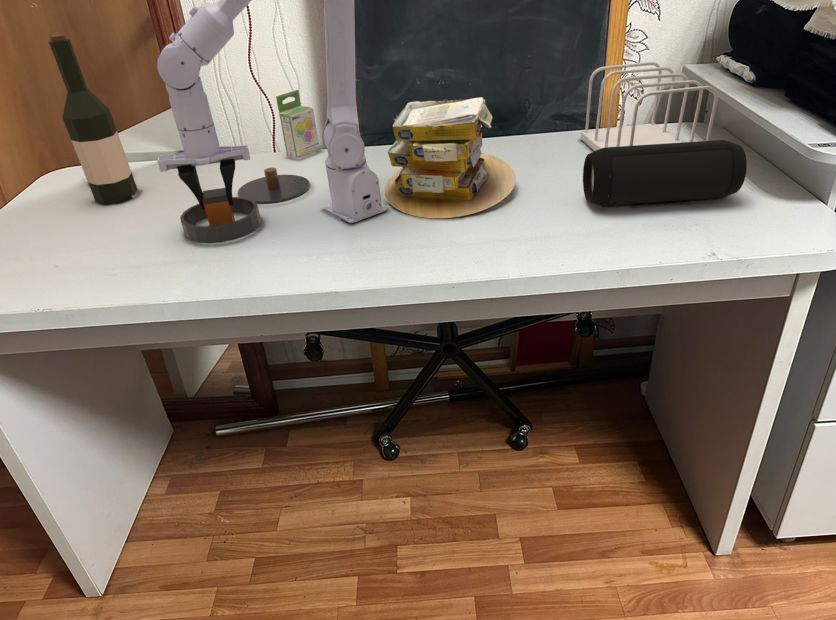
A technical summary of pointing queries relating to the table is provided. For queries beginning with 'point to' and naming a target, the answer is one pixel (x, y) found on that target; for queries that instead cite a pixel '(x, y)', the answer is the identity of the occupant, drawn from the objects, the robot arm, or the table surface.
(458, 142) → the stacked yellow boxes
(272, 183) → the lid
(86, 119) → the wine bottle
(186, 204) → the table surface
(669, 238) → the table surface
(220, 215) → the spice jar
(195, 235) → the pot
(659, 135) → the file sorter
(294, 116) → the ink box
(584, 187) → the portable speaker
